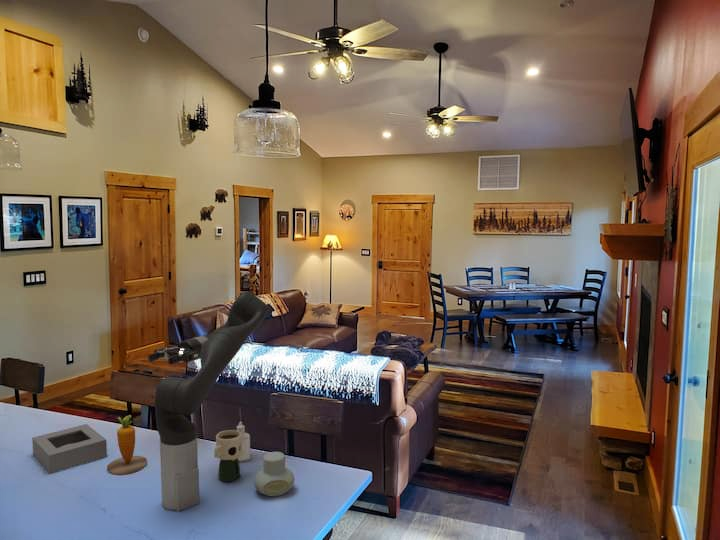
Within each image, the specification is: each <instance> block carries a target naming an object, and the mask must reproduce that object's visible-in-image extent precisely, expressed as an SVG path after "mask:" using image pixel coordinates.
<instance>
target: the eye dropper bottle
mask: <svg viewBox="0 0 720 540" xmlns="http://www.w3.org/2000/svg"><path fill="white" fill-rule="evenodd" d="M245 429H246V428H245V425H243V422H242V421H239V423H238V425H237V426H236V430H237V431H239V432H240V433H241V435H242V437H243V443H242V453H241V455H240V457H239V458H238V460H239V463H240V462H246V461H249V460H250V459H251V435H250V434H249V433H248V432H246V431H245Z"/></svg>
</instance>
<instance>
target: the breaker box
mask: <svg viewBox="0 0 720 540" xmlns="http://www.w3.org/2000/svg"><path fill="white" fill-rule="evenodd" d="M31 441H32V455H33V456H34V457H35V459H36V460H37V461H38V462H39V463H40V464H41V466H42V467H43V466H44V467H45V468H44V467H43V468H44V469H45V470H46V471H47V473H49V474H50V475H51V474H54V472H55V473H58V472H60V470H62V471H64V470H63V469H65V470H67V468H68V469H72V468H74V466H75V467H78V466H82V465H84V463H85V464H87V462H88V463H92V462H95V461H99V460H101V459H105V458H108V450H107V446H108V445H107V439H106V438H105V437H103V436H102V435H101V434H100V433H99V432H97V431H96V430H95V429H93V428H92V427H91V426H90V425H89V424H87V423H86V424H82V425H78V426H72V427H69V428H66V429H61V430H57V431H53V432H49V433H45V434H41V435H36V436H33V437H32V439H31ZM73 443H74V444H73ZM67 444H70V445H67ZM64 445H67V446H64ZM61 446H63V447H61ZM91 461H92V462H91ZM81 464H82V465H81ZM77 465H78V466H77ZM71 467H72V468H71ZM57 471H58V472H57Z"/></svg>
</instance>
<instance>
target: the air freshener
mask: <svg viewBox="0 0 720 540" xmlns="http://www.w3.org/2000/svg"><path fill="white" fill-rule="evenodd" d="M262 459H263V463H262V464H263V468H262V469H260V471H258V473H256V474H255V477H254V481H253V484H254V487H255V488H256V490H257V491H258V492H259V493H261V494H263V495H265V496H269V497H270V496H271V497H279V496H281V495H283V494H285V493H288V492H289V491H290V490H291V488H293V485H294V484H295V474H294V473H293V471H292V470H291V469H289V468H288V467H286V455H285V454H284V453H283V452H281V451H270V452H267V453H266V454H265V455H264V456H263V458H262Z"/></svg>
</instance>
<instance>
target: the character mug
mask: <svg viewBox="0 0 720 540" xmlns="http://www.w3.org/2000/svg"><path fill="white" fill-rule="evenodd" d="M242 443H243V437H242V435H241V433H240V432H239V431H237V429H236V430H235V429H226V430H222V431H219V432H218V433H217V434H216V436H215V447H214V458H215V459H219V464H218V466H219V467H218V474H217V478H218V479H220V480H222V481H224V482H233V481H236V480H237V477H238V478H240V477H241V467H240V462H239V460H238V458H239V457H240V455H241V453H242Z"/></svg>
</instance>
